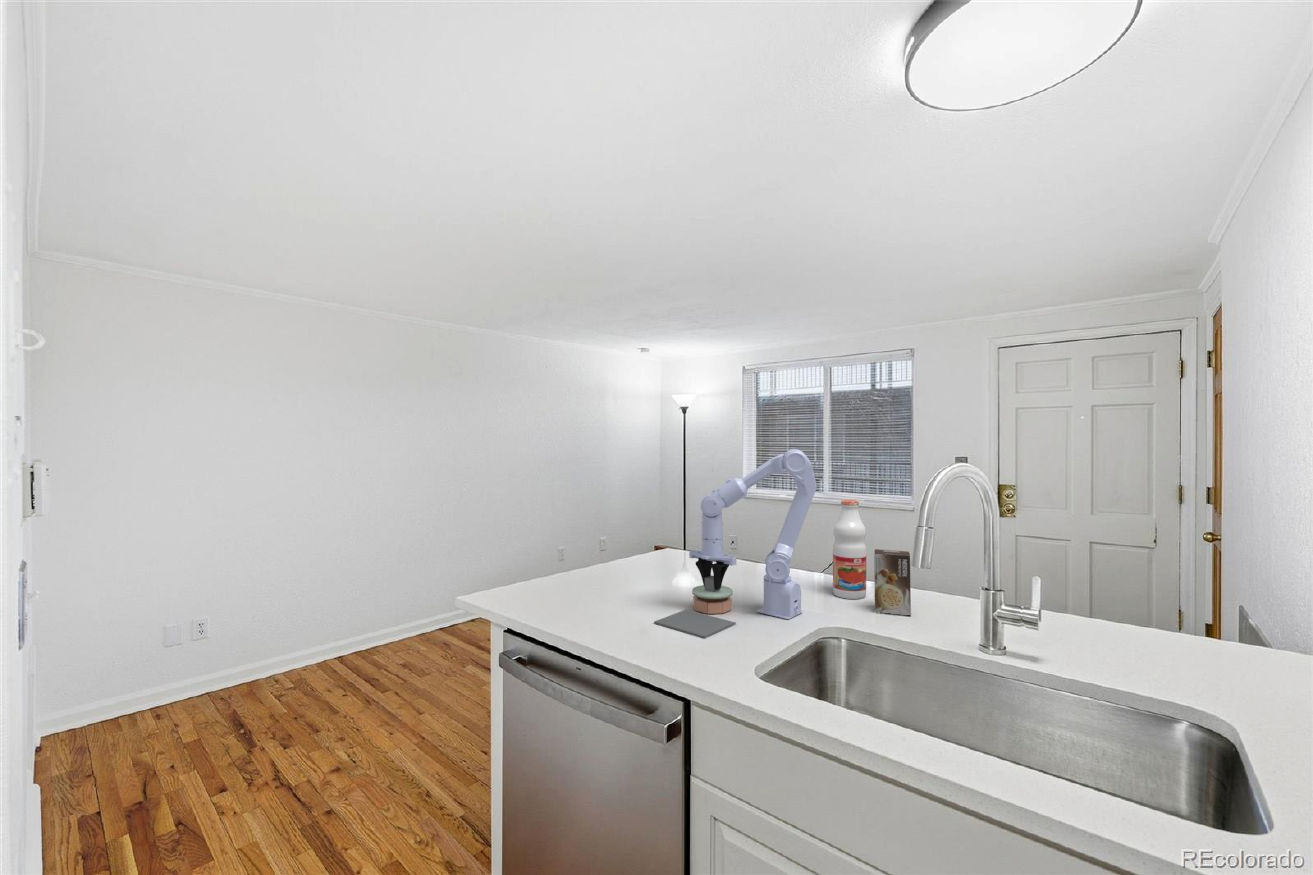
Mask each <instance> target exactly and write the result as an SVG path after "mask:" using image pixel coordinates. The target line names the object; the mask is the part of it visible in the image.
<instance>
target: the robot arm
mask: <svg viewBox="0 0 1313 875" xmlns="http://www.w3.org/2000/svg"><path fill="white" fill-rule="evenodd" d="M785 470H786V472H787V473H788V474H789V475H791V477H792V478H793V481H794V482H795V484H796V486H797V487H796V490H795V493H794V496H793V499H792V500H791V504H790V507H789V508H788V512H787V513H786V515H785V516H786V517H785V519H784V522H783V524H782V528H781V530H780V532H779V535H778V538H777V540H776V543H775V544H774V547H773V549H772V550H771V551H770V552H769V553H768V554H767V556H766V558H765V573H766V574H765V575H764V576H763V607H761V608H759V609H757V610H756V611H757V613H760V614H764V615H768V616H773V617H776V618H781V619H785V620H789V619H793V618H794V617H796V616H798V615H801V614H802V613H803V610H802V588H801V585H800V584H799V583H798V582H795V581H793V580H792V577H791V575H790V572H791V567H790V565H791V564H790V563H791V560H792V557H793V551H794V548H795V546H796V543H797V541H798V538H799V535H800V533H801V530H802V527H803V525H804V522H805V520H806V518H807V515H808V512H809V509H810V507H811V504H812V501H813V498H814V496H815V493H816V490H817V488H818V484H817V481H816V478H815V473H814V468H813V464H812V463H811V461H810V459H809V458H808V457H807V454H806V453H804V452H803V451H802V450H801V449H797V448H791V449H788V450H787V451H786V452H784V453H781V454H778V455H776V456H774V457H773V458H770V459H769V460H766V462H764V463H763V464H762V465H760V466H759V467H757V468H755V470H753V471H751V472H750V473H749V474H746V475H745V476H744V477H743V478H739V477H733V478H732V479H731V477H730V478H728V479H727V480H726V483H724V484H723V485H721V486H720V487H718V488H717V489H716V488H713V489H712V491H711V492H712V493H709V494H707V495H705V496H704V497H703V499H702V500H701V503H700V509H701V512H702V513H701V520H702V521H701V550H696V549H692V550H689V552H688V553H689V554H688V555H689V556H688V558H689V559H697V561H695V566H696V568H697V569H698V572H699V574H700V576H701V579H702V584H703V585H704V587H705V577H708V576H714V588H715V589H716V590H717V589H720V588H721V585H722V584H723V580H724V577H725V575H726V572H727V570H728V568H729V566H736V565H737V557H736V556H731V555H728V554H725V553H724V545H723V544H724V542H723V536H724V535H723V534H724V533H723V532H724V528H723V527H724V524H723V518H722V517H723V516H722V515H723V514H722V511H723V509H724V508H725V509H728V508H730V507H731V506H733V505H734V504H735V503H737V502H738V501H740V500H742V499H743V498H745V497H746V496H747V495H748V490H749V489H750V488H752V487H753V486H755V485H756V484H758V483H760V482H762V481H763V480H765V479H766V478H768V477H769V476H772V475H775V474H778V475H779V474H785ZM712 574H713V575H712ZM722 586H723V585H722Z"/></svg>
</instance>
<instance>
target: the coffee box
mask: <svg viewBox="0 0 1313 875" xmlns="http://www.w3.org/2000/svg"><path fill="white" fill-rule="evenodd" d="M873 557H874V558H873V559H874V561H873V562H874V565H873V566H874V613H875V612H882V613H881V614H884V613H891V614H890V615H893V614H903V615H911V616H912V604H911V601H912V600H911V599H912V598H911V597H912V596H911V594H912V591H911V589H912V588H911V584H912V583H911V553H910V551H905V550H893V549H890V550H889V549H878V548H877V549H874V556H873ZM903 615H902V616H903Z"/></svg>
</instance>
